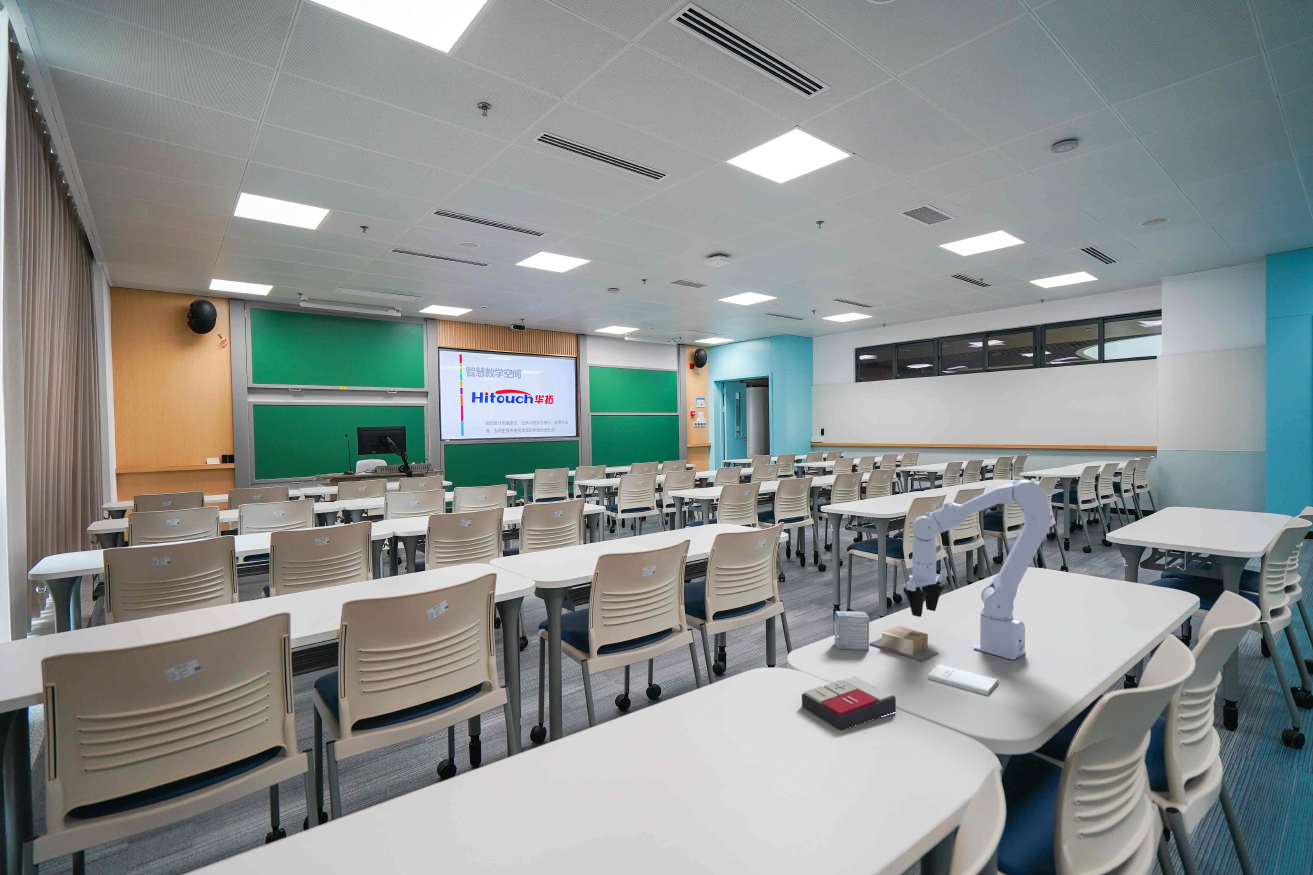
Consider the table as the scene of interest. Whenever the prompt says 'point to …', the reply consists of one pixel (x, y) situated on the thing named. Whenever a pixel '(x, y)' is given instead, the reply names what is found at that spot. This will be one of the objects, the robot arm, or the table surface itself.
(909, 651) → the block
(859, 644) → the medicine box
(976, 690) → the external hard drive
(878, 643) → the mat
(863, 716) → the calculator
